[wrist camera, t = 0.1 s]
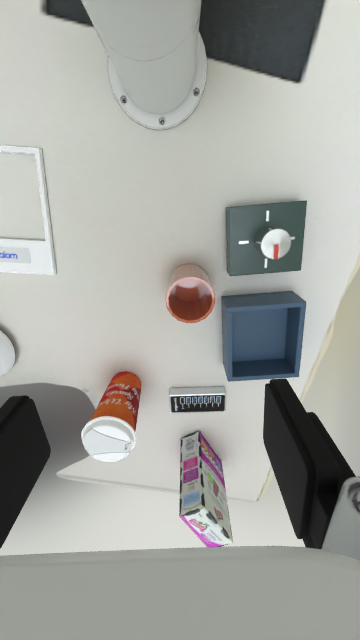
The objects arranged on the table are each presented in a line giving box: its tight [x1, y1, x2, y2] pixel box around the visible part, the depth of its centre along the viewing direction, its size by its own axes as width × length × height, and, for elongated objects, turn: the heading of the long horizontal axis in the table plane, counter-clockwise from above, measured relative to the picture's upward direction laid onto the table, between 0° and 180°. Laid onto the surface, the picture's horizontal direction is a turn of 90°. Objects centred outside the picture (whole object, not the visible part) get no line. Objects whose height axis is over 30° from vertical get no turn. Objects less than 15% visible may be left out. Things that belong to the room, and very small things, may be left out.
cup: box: [166, 264, 215, 323], centre depth 42 cm, size 7×7×9 cm
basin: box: [222, 291, 306, 381], centre depth 47 cm, size 14×12×6 cm
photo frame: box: [0, 146, 56, 275], centre depth 42 cm, size 15×1×18 cm
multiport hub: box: [169, 386, 226, 413], centre depth 54 cm, size 4×11×2 cm, turn 93°
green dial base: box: [226, 201, 307, 276], centre depth 42 cm, size 10×11×3 cm
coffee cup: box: [81, 372, 141, 462], centre depth 48 cm, size 8×8×15 cm
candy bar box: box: [179, 431, 233, 547], centre depth 54 cm, size 11×5×16 cm, turn 30°
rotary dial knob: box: [253, 226, 291, 259], centre depth 39 cm, size 4×4×5 cm
